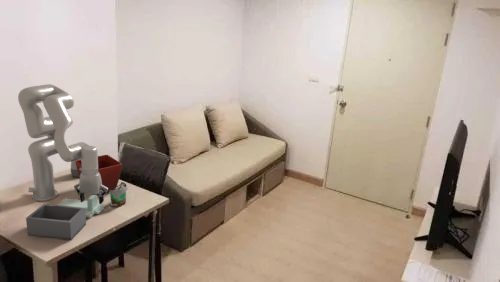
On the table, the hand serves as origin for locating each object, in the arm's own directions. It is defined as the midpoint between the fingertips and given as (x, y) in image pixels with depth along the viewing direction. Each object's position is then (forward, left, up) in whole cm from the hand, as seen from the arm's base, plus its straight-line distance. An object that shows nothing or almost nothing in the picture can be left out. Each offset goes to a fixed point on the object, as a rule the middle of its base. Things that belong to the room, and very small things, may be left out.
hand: (92, 202), depth 200 cm
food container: (+11, +11, -5) cm, 16 cm away
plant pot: (-7, +25, -6) cm, 27 cm away
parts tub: (-7, -20, -5) cm, 22 cm away
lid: (-7, 0, -6) cm, 9 cm away
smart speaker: (-27, +41, -5) cm, 50 cm away
